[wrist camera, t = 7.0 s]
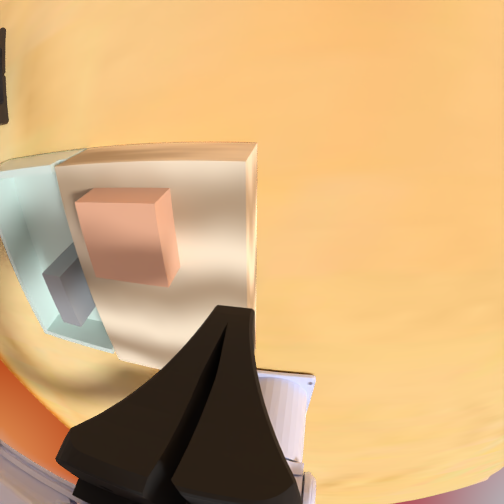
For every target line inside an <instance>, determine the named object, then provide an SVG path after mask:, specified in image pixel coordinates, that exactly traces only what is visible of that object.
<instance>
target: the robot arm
mask: <svg viewBox="0 0 504 504" xmlns="http://www.w3.org/2000/svg"><path fill="white" fill-rule="evenodd" d="M254 348H255V311H254V310H253V309H252V308H243V307H233V306H224V305H217V306H216V307H215V308H214V309H213V311H212V312H211V313H210V315H209V316H208V317H207V319H206V320H205V321H204V323H203V324H202V325H201V326H200V328H199V329H198V330H197V331H196V333H195V334H194V335H193V336H192V337H191V338H190V340H189V341H188V342H187V343H186V344H185V345H184V346H183V348H182V349H181V350H180V351H179V352H178V353H177V354H176V355H175V356H174V357H173V358H172V359H171V360H170V361H169V362H168V363H167V364H166V365H165V366H164V367H163V368H162V369H161V370H160V371H159V372H158V373H156V374H155V375H154V376H153V377H152V378H151V379H149V380H148V381H147V382H146V383H145V384H143V385H142V386H141V387H139V388H138V389H137V390H136V391H134V392H133V393H132V394H130V395H129V396H127V397H126V398H124V399H123V400H122V401H120V402H118V403H117V404H115V405H114V406H112V407H110V408H109V409H107V410H105V411H104V412H102V413H100V414H99V415H97V416H95V417H93V418H91V419H89V420H87V421H85V422H83V423H81V424H79V425H77V426H74V427H72V428H71V429H70V431H69V432H68V434H67V436H66V437H65V439H64V441H63V444H62V445H61V448H60V450H59V452H58V454H57V456H56V458H55V459H56V461H57V462H58V464H60V465H61V466H62V467H64V468H65V469H66V470H68V471H69V472H71V473H72V474H73V475H75V476H77V477H78V478H79V479H78V481H77V484H76V485H74V484H72V483H70V482H68V481H66V480H64V479H63V478H61V477H59V476H57V475H55V474H53V473H52V472H50V471H48V470H46V469H45V468H43V467H41V466H39V465H38V464H36V463H35V462H33V461H31V460H30V459H28V458H27V457H25V456H23V455H22V454H20V453H19V452H17V451H16V450H14V449H13V448H11V447H10V446H9V445H7V444H6V443H4V442H3V441H1V440H0V504H77V502H78V503H80V504H315V496H316V479H315V477H314V476H313V475H311V473H310V472H304V474H303V468H304V463H302V457H303V446H304V434H305V421H306V412H307V409H308V406H309V402H310V399H311V396H312V392H313V389H314V385H315V382H316V377H315V376H314V375H305V374H292V373H281V372H271V371H262V370H257V368H256V362H255V355H254ZM75 501H76V502H75Z"/></svg>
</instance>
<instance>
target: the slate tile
mask: <svg viewBox="0 0 504 504" xmlns="http://www.w3.org/2000/svg"><path fill="white" fill-rule="evenodd" d="M42 275H43V278H44V280H45V283H46V285H47V287H48V290H49V292H50V294H51V296H52V299H53V301H54V303H55V305H56V307H57V309H58V312H59V314H60V316H61V318H62V320H63V322H65V323H69V324H72V325H76V326H79V327H82V325H83V324H84V322H85V321H86V319H87V318H88V316H89V315H90V314H91V312H92V311H93V309H94V308H95V307H96V305H95V303H94V300H93V297H92V295H91V292H90V289H89V287H88V284H87V281H86V278H85V276H84V273H83V270H82V267H81V264H80V261H79V258H78V255H77V252H76V248H75V245H74V242H73V243H72V244H71V245H70V246H69V247H68V248H66V249H65V250H64V251H63V252H62V253H61V254H60V255H59V256H58V257H57V258H56V259H55V260H54V261H53V262H52V263H51V265H50V266H49V267H48V268H47V269H46V270H45V271H44V272H43V273H42Z"/></svg>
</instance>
